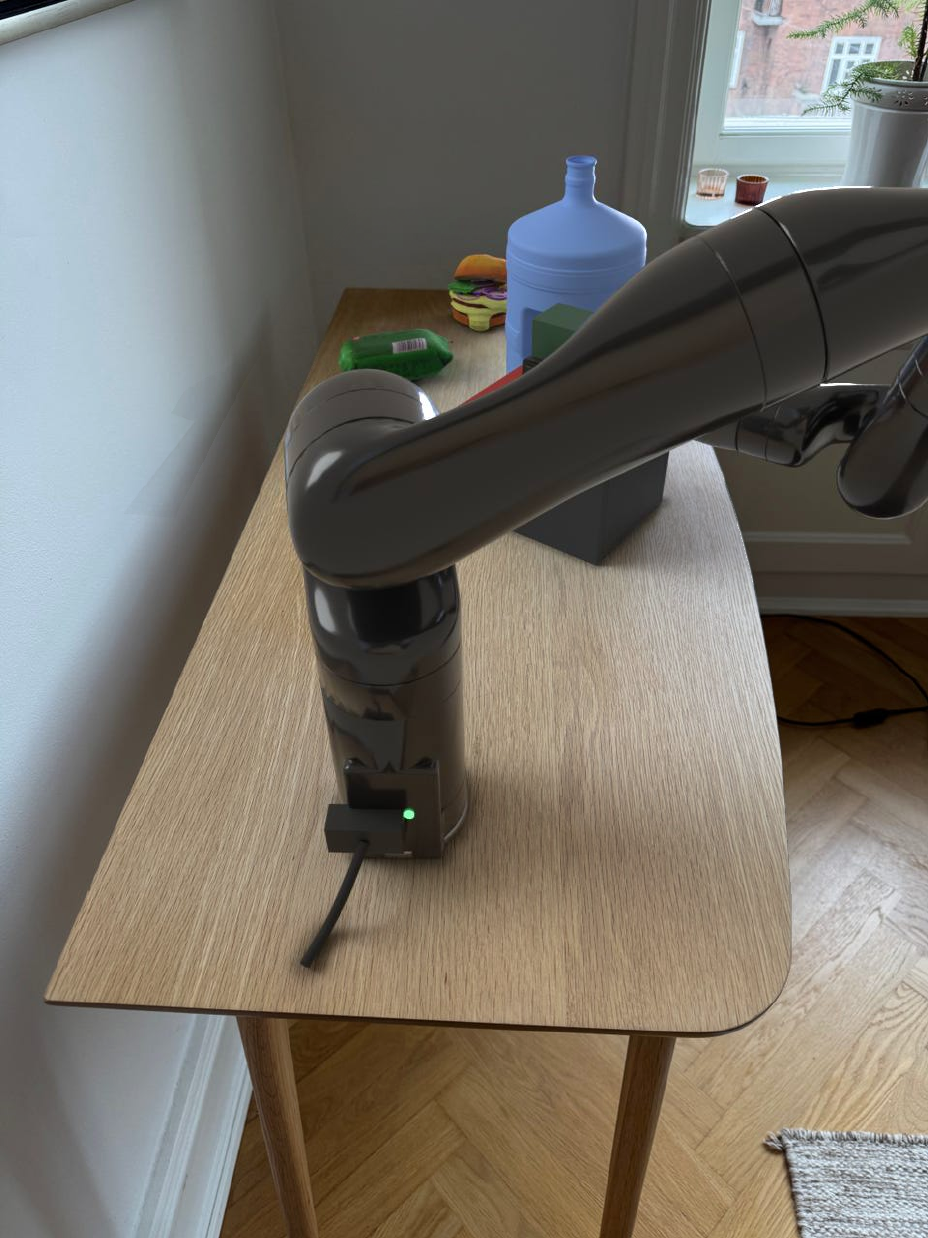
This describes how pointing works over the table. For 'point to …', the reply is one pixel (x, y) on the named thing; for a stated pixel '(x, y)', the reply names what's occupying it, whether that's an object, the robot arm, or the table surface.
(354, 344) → the snack package
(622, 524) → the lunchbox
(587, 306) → the water jug
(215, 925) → the table surface
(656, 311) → the robot arm
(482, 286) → the cheeseburger
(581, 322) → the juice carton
